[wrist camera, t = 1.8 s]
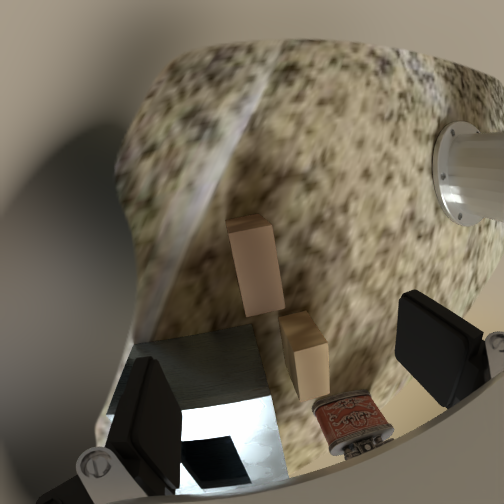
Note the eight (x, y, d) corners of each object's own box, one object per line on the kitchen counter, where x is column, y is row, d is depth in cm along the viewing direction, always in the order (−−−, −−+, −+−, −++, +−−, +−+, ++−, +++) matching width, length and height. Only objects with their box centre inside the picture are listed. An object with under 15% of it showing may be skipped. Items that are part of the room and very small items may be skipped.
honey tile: (305, 310, 27) (327, 342, 21) (310, 357, 28) (329, 393, 22) (277, 317, 26) (294, 352, 21) (285, 364, 28) (300, 402, 22)
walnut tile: (258, 213, 24) (272, 224, 18) (269, 279, 25) (285, 308, 20) (225, 220, 23) (228, 233, 18) (238, 286, 25) (246, 317, 19)
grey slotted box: (251, 323, 26) (270, 395, 17) (274, 425, 30) (291, 488, 21) (133, 344, 25) (106, 414, 16) (182, 440, 30) (180, 502, 20)
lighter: (310, 416, 31) (335, 475, 21) (313, 399, 30) (341, 460, 20) (365, 403, 32) (398, 453, 22) (371, 385, 31) (407, 437, 21)
